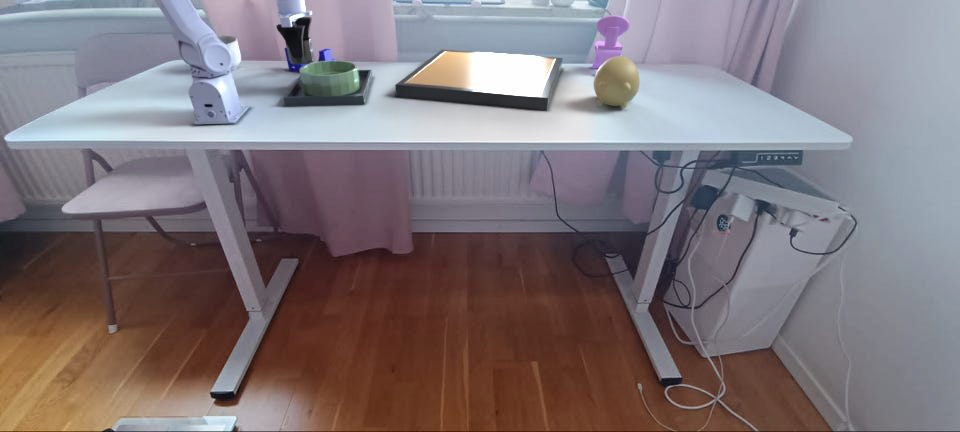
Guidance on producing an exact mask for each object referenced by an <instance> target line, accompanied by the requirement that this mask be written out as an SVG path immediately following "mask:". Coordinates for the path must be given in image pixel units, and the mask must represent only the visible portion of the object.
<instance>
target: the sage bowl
mask: <svg viewBox="0 0 960 432" xmlns="http://www.w3.org/2000/svg"><path fill="white" fill-rule="evenodd" d="M358 70H359V66H358V65H357V64H356V63H355V62H352V61H347V60H338V59H337V60H336V59H335V61H320V62H318V61H315V62H314V61H313V62H312V63H310V64H307V65H304V66H302V67H301V68H300V69H299V71H300V72H299V77H300V76H301V81H302V86H303V91H304V93H306V94H308V95H311V96H342V95H347V94H351V93H353V92H356V91H357V90H359V89H360V79H359V71H358Z"/></svg>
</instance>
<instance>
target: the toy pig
mask: <svg viewBox="0 0 960 432" xmlns="http://www.w3.org/2000/svg"><path fill="white" fill-rule="evenodd" d="M597 69H598V68H597ZM596 71H597V70H596ZM595 73H596V72H595ZM640 82H641V81H640V73H639V70H638V68H637V66H636V64H635V63H634V61H632V60H631V59H630V58H629V57H627V56H622V55H620V56H617V57H613V58H611V59H609V60H607V61H606V62H605V63H603V64H602V65H601V67H600V68H599V69H598V71H597V73H596V75H595V74H594V78H593V90H594V94H595V95H596V97H597V104H598V105H603V104H605V105H606V106H611V107H619V106H620V108H622V109H625V108H626V107H628V103H630V102H631V101H632V100H633V99H634V98H635V96H636V95H637V93H638V92H639V90H640Z"/></svg>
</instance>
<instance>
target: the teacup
mask: <svg viewBox="0 0 960 432" xmlns="http://www.w3.org/2000/svg"><path fill="white" fill-rule="evenodd" d="M216 36H217V37H218V39H219V40H220V41H221V42H223V43H224V44H226V45H227V46H228V47H229V48H230V50H231V52H232V54H233V64H232V66H231V72H232V71H235V70H236V69H237V68H238V66H239V65H240V64H241V62H242V54H241V51H240V47H239V43H238V37H236V36H233V35H228V34H216Z"/></svg>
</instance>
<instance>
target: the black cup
mask: <svg viewBox="0 0 960 432" xmlns="http://www.w3.org/2000/svg"><path fill="white" fill-rule="evenodd" d="M284 43H285V48H286V47H287V52H288V56H289V61H291V63H292V64H299V65H300V64H309V63H314V61H315V55H314V48H313V44H312V39H311V37H310V36H309V37H303V58H293V57H292V55H291V52H290V50H289V48H288V45H287V43H286V41H285V40H284Z"/></svg>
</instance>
